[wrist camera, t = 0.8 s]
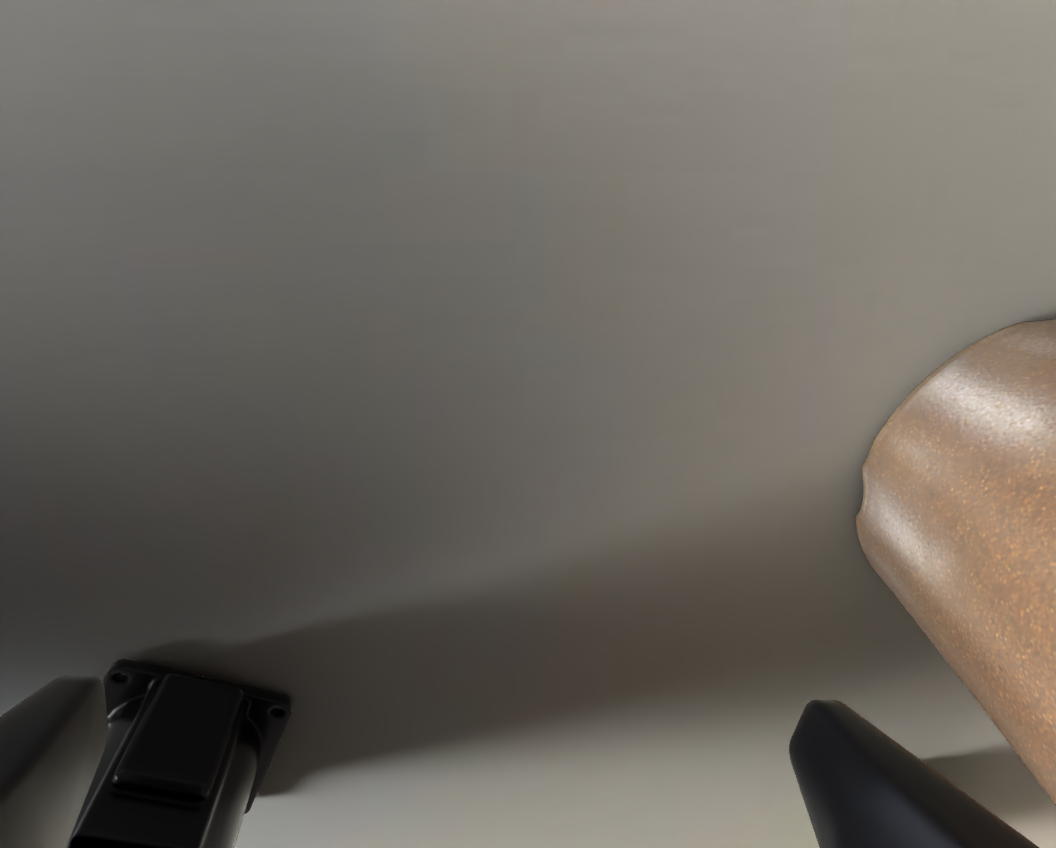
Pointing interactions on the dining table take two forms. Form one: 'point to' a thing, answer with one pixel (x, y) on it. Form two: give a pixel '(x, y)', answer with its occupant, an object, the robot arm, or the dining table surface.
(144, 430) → the dining table surface
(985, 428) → the plant pot
